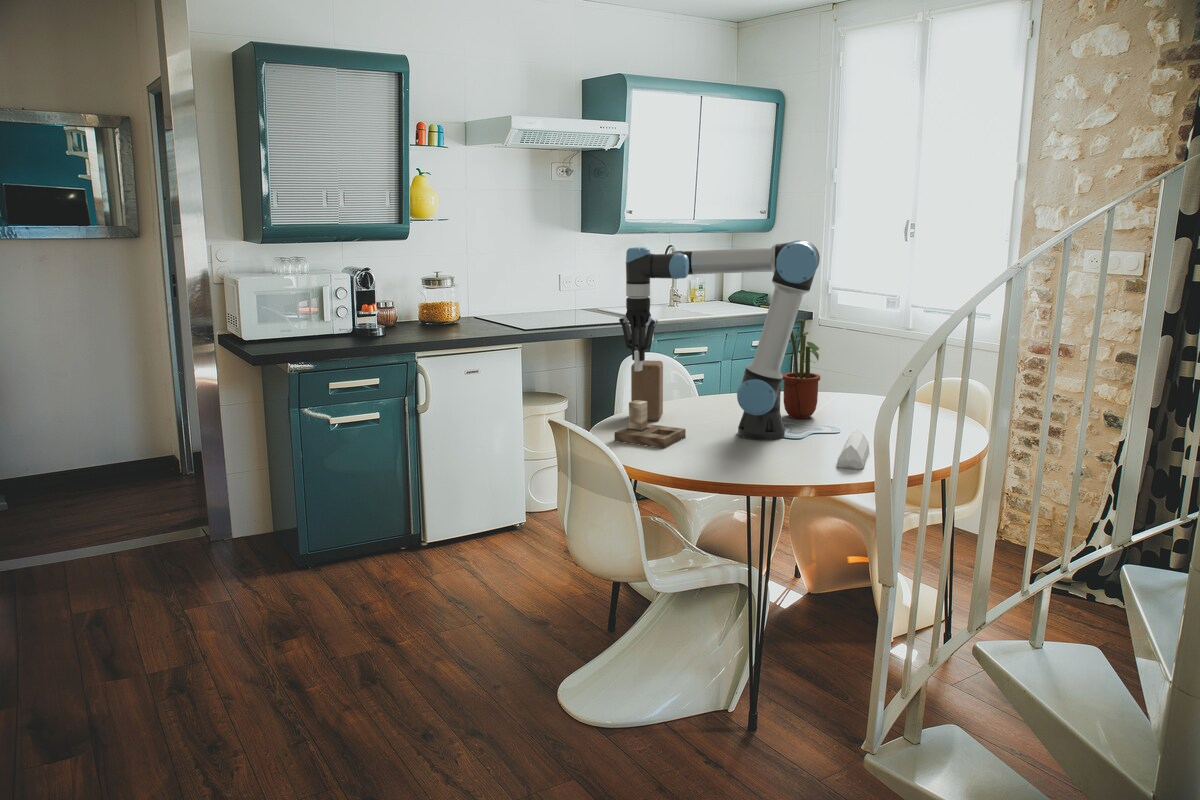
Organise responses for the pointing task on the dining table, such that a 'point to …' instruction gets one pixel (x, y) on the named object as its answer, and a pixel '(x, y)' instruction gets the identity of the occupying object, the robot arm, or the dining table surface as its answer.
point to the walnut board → (651, 436)
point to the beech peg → (638, 415)
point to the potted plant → (801, 380)
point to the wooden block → (649, 387)
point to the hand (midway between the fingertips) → (638, 370)
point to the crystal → (854, 451)
